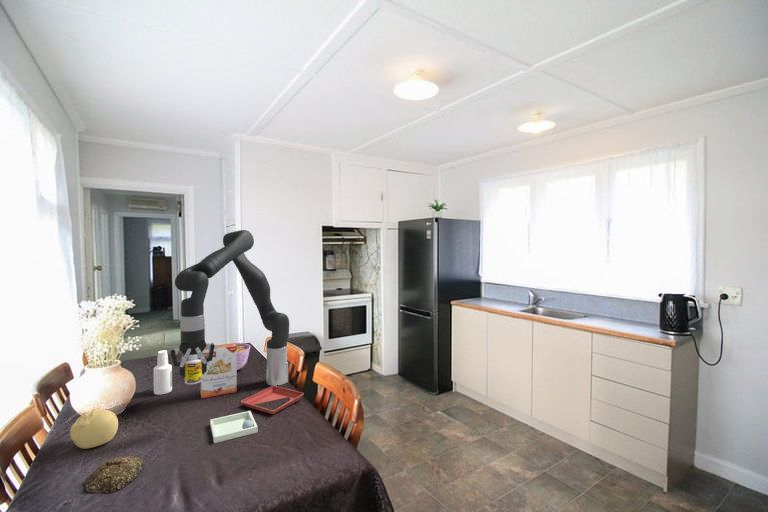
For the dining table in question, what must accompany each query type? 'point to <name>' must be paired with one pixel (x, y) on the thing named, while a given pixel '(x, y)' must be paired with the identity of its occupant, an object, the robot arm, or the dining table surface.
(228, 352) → the cracker box
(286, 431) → the dining table surface
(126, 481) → the mottled brown rock
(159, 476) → the dining table surface
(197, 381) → the supplement bottle
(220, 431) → the tray
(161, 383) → the spray bottle
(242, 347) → the bowl of food
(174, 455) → the dining table surface
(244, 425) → the ball
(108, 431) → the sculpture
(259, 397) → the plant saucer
